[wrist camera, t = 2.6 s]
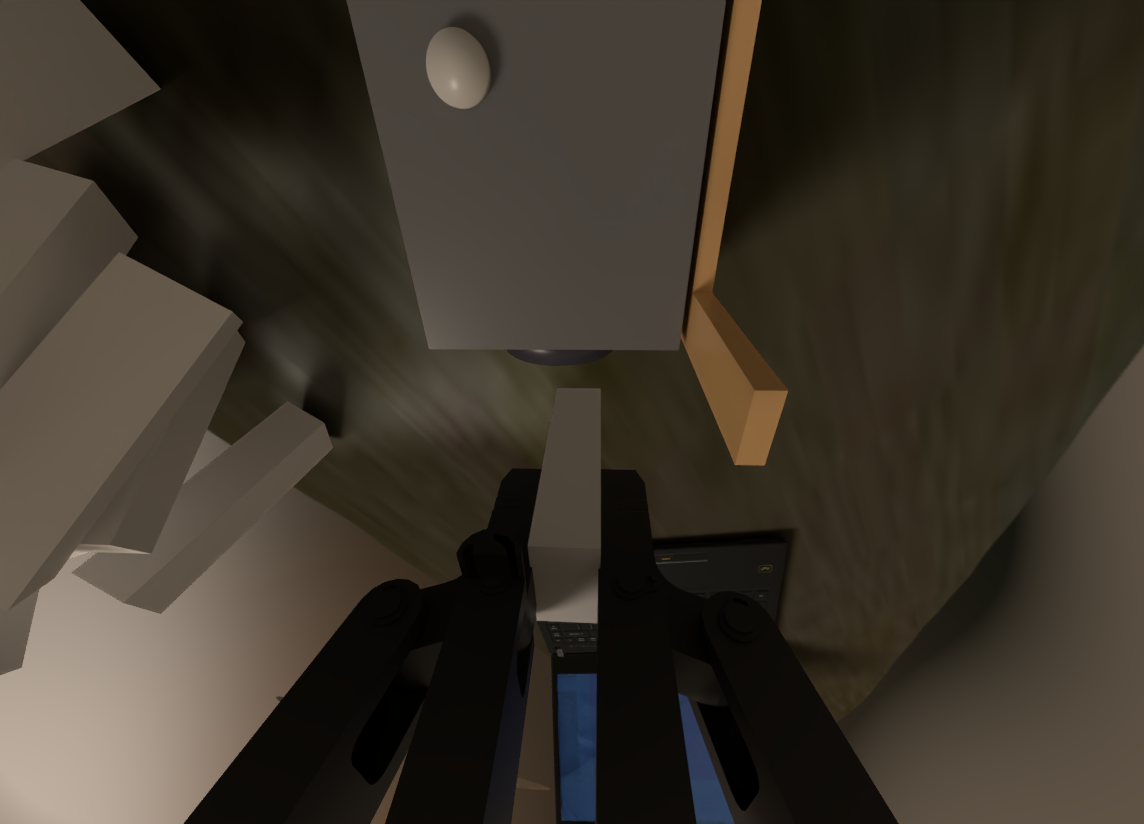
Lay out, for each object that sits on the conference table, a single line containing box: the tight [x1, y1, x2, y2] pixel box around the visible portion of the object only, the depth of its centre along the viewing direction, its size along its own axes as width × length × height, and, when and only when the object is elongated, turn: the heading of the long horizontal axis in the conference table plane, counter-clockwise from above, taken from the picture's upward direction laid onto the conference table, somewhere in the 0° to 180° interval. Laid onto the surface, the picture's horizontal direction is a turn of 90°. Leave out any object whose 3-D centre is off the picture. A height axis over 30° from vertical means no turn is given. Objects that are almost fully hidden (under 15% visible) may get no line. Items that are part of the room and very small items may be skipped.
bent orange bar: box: [681, 0, 788, 465], centre depth 18 cm, size 16×1×21 cm, turn 1°
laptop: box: [535, 537, 787, 824], centre depth 51 cm, size 33×38×19 cm
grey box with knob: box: [347, 0, 726, 366], centre depth 23 cm, size 18×14×13 cm
